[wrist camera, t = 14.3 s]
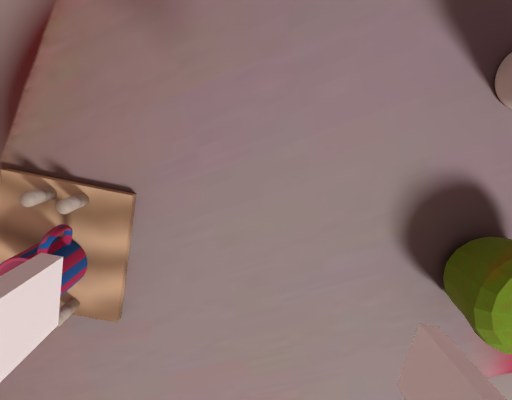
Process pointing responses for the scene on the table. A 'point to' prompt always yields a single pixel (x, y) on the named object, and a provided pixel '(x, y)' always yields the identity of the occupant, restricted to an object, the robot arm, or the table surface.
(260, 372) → the table surface
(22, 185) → the wooden peg board
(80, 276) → the cup
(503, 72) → the coffee cup
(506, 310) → the apple
